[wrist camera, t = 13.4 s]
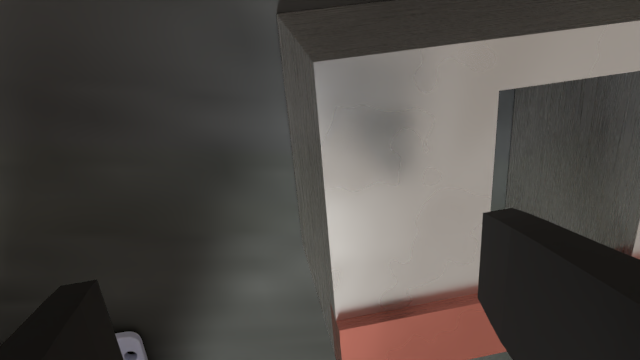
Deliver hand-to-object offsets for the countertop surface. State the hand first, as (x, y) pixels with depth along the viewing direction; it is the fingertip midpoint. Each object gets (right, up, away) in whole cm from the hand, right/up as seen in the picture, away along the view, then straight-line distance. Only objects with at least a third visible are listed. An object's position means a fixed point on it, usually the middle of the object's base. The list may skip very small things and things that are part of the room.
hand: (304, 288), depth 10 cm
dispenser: (+6, +4, +10) cm, 12 cm away
